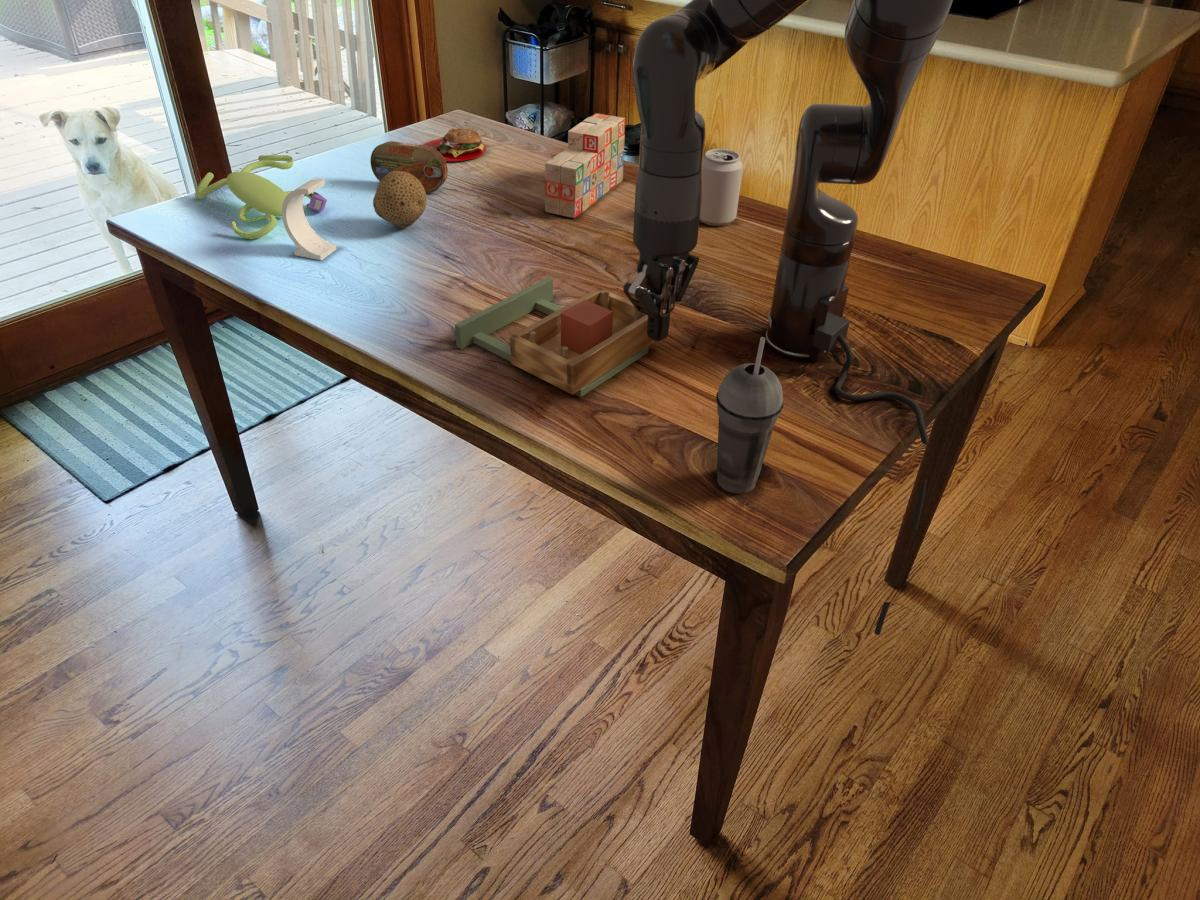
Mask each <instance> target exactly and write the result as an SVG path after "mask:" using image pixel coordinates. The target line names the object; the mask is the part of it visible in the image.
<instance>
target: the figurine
mask: <svg viewBox="0 0 1200 900" xmlns="http://www.w3.org/2000/svg"><path fill="white" fill-rule="evenodd" d="M257 160H258V161H254V162H251V163H249V164H247V165H246V166H244V167H243V168H242V169H241V170H240V171H232V172H231V173H229V174H227V176H226V177H225V178H222V179H220V180H217V181H216V182H214V183H211V182H212V180H213V179H214V177H215V176H214V174H213V173H212V172H207V173H206V174H205V176H204V177H203V178H202V179H201V181H200V182H199V184H198V185H197V187H196V189H195V192H194V197H195V199H196V200H202V199H205V198H207V196H208V195H210V194H212V193H214V192H216V191H217V190H219V189H221V188H223V187H225V186H227V187H228V189H229V191H230V193H232V194H233V195H234V196H235V197H236V198H237V199H238V200H240V201H241V202H242V203H244V205H243V206H242V207H241V208H240V209H239V212H238V214H237V217H238V220H239V221H240V222H242V223H250V222H255V221H259V220H263V219H264V220H265V219H266V220H267V221H269V222H268V223H267V224H266V225H265V226H264V227H262V228H260V229H258V230H255V231H254V230H253V231H250V232H247V231H243V230H242V229H239V227H238V226H237V224H236V222H235V221H234V220H233V221H232V222H231V228H232V230H233V233H235V234H236V235H237V236H239V238H240V237H241V238H242V239H245V240H254V239H255V240H256V239H259V238H262V237H264V236H266V235H269V233H270V232H272V231H273V230H274V229H275V227H276V226H277V223H278V219H277V217H282V204H283V201H284V199H285V197H286V196H287V195H288V194H289V193H290V192H292V191H293V190H289V191H288V190H287V191H284V190H283V189H282V188H281V187H279V186H278V185H276V184H275V183H274V182H272V181H271V180H269V179H268V178H266V177H263V176H261V175H258V174H256V173H251V172H252V171H253V170H257V169H261V168H264V167H265V168H266V167H268V168H269V167H270V168H276V169H280V170H290V169H292V167H293V165H294V158H293V156H291V155H287V154H286V155H285V154H261V155H258V157H257ZM210 183H211V184H210ZM304 197H306V198H308V199H309V200H310V201H309V203H307V204H306V207H307V208H309V209H311V210H314V211H315V212H319V213H321V212H323V211H324V210H325V208H326V204H327V201H328V199H327V198H326V197H324V196H323V195H322V194H319V193H318V192H316V191H313V192H312V193H310V194H305V195H304ZM252 209H253V210H255V211H257V212H259V213H262V214H263V215H261V216H257V217H252V218H247V217H246V216H247V213H248V212H250V211H251V210H252ZM264 214H265V215H264Z"/></svg>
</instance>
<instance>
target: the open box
mask: <svg viewBox="0 0 1200 900" xmlns="http://www.w3.org/2000/svg"><path fill="white" fill-rule="evenodd" d="M583 300H587V301H589V302H592V303H594V304H596V305H599V306H601V307H603V308H606V309H608V310H610V311H613V327H612V336H611V337H609V338H607V339H606V340H604V341H602V342H601V343H599V344H598V345H596V346H594V347H593V348H591V349H589V350H588V351H586V352H585V353H583V354H579V353H576V352H574V351H572V350H570V349H568V347H566V346H562V345H561V313H562V312H564V311H565V310H567V309H569V308H571V307H572V306H574V305H576V304H578V303H579V302H581V301H583ZM562 307H563V308H561V309H559V310H557V311H556V312H554V313H552V314H550V315H547V316H544V317H543V318H541V319H539V320H538V321H535V322H534V323H531V324H530V325H528V326H526V327H524V328H523V329H521V330H519V331H518V332H515V333H514V334H512V335H510V336H509V346H510V354H511V362H510V364H511V365H513V366H514V367H517V368H519V369H521V370H523V371H525V372H527V373H529V374H530V375H532V376H534V377H537V378H539V379H540V380H543V381H545V382H546V383H548V384H550V385H553V386H554V387H556V388H558V389H561V390H562V391H564V392H566V393H568V394H571V395H575V394H574V393H576V392H577V391H579V390H580V389H582V388H584V387H585V386H587V385H588V384H590V383H591V382H593V381H594V380H596V379H597V378H599V377H600V376H602V375H604V374H605V373H607V372H608V371H610V370H611V369H613V368H614V367H616V366H617V365H619V364H620V363H622V362H623V361H625V360H627V359H628V358H630V357H631V356H633V355H634V354H636V353H637V352H639V351H640V350H642V349H643V348H645V347H646V346H648V347H649V346H650V345H651V344H653V343H654V342H657V341H656V340H653V339H651V338H649V337H648V335H647V326H648V325H647V324H648V315H646V314H643V313H641V312H638V311H637V310H636V308H635V307H634V306H633V304H632V303H631V301H630V300H629V298H626V297H624V296H620V295H618V294H616V293H613V292H611V291H610V290H609V289H604V288H602V287H597V288H595V289H594V290H591V291H590V292H588V293H586V294H584V295H583V296H581V297H579V298H577V299H575V300H574V301H571V302H570V303H568V304H566V305H565V306H562Z"/></svg>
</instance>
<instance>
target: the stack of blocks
mask: <svg viewBox="0 0 1200 900" xmlns="http://www.w3.org/2000/svg"><path fill="white" fill-rule="evenodd" d="M567 132H568V133H567V148H565V149H564V150H562V151H561V152H558V154H556V155H555V156H553V157H552V158H551V159H549V160H547V161H546V162H545V164H544V167H545V177H544V179H545V180H544V212H546V213H550V214H552V215H553V214H555V215H559V216H561V217H562V216H563V217H567V218H573V219H576V217H578V216H579V215H580V214H581V213H584V212H585V211H586V210H587V209H588V208H590V207H591V206H592V205H593V204H595V203H596V202H597V201H598V200H600V198H602V197H603V196H604V195H605V194H607V193H608V192H609V191H611V190H613V189H614V188H615V187H616V186H618V185H619V184H621V182H623V180H624V157H625V155H624V154H625V138H626V137H625V136H626V135H625V132H626V117H621V116H615V115H609V114H604V113H596V112H595V113H594V114H592V115H591V116H588V117H586V118H585V119H583V120H582V121H581V122H579V123H578V124H576V125H575V126H573V127H572V128H571V129H569V130H568V131H567Z"/></svg>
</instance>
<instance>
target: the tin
mask: <svg viewBox="0 0 1200 900" xmlns="http://www.w3.org/2000/svg"><path fill="white" fill-rule="evenodd" d="M369 161H370V169H371V171H372V173H373V175H374V177H375V178H376V179H377V180H378V181H379V182H380V181H381V180H382V179H383V177H384V176H386V175H387V174H388V173H390V172H393V171H403V172H408V173H410V174H412V175H413V176H415V177H416V178H417V179H418V180H419V181H420V182H421V184H422V185H423V187H424V189H425V192H426V194H429V193H430V194H431V193H433V192H436V191H438V189H440V188H441V187H442V186H443V185H444V184H445V182H446V181H447V178H448V172H449V171H448V170H449V169H448V164H447V161H445V159H444V157H443V155H442V154H441V153H440V152H439V151H438V150H437V149H435V148H433V147H431V146H427V145H423V144H418V143H409V142H402V141H393V140H391V141H385V142H383V143H380V144H378V145H376V146H375V147H374V148H373V150H372V151H371V154H370V160H369Z"/></svg>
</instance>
